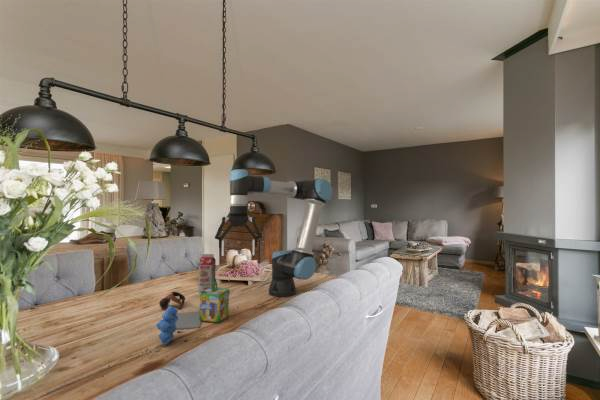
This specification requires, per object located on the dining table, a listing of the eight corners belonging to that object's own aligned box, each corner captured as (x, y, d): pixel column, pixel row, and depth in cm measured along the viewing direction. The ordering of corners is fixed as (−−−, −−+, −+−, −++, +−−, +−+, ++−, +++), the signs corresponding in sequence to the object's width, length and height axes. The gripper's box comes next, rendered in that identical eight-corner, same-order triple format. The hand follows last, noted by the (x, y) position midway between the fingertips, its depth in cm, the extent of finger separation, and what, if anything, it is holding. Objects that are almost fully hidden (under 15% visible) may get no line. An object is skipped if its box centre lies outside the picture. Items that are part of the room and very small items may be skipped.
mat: (203, 312, 130) (203, 311, 130) (199, 328, 113) (199, 326, 113) (170, 314, 127) (170, 313, 127) (160, 331, 110) (160, 329, 110)
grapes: (162, 334, 107) (163, 301, 108) (181, 334, 108) (182, 301, 108) (148, 350, 96) (148, 313, 96) (169, 349, 96) (169, 313, 96)
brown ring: (169, 304, 141) (178, 289, 142) (181, 316, 137) (191, 301, 138) (150, 306, 130) (160, 290, 131) (163, 319, 126) (173, 302, 127)
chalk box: (218, 323, 117) (221, 286, 117) (198, 320, 119) (200, 284, 119) (228, 315, 126) (230, 281, 126) (209, 313, 128) (211, 279, 128)
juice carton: (202, 293, 157) (203, 253, 157) (215, 294, 157) (215, 253, 157) (198, 297, 150) (198, 255, 151) (210, 297, 150) (211, 255, 150)
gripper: (266, 205, 132) (265, 252, 132) (210, 205, 127) (209, 254, 126) (267, 205, 125) (267, 255, 124) (208, 205, 119) (207, 257, 119)
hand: (238, 255), depth 125 cm, fingers open, 12 cm apart
